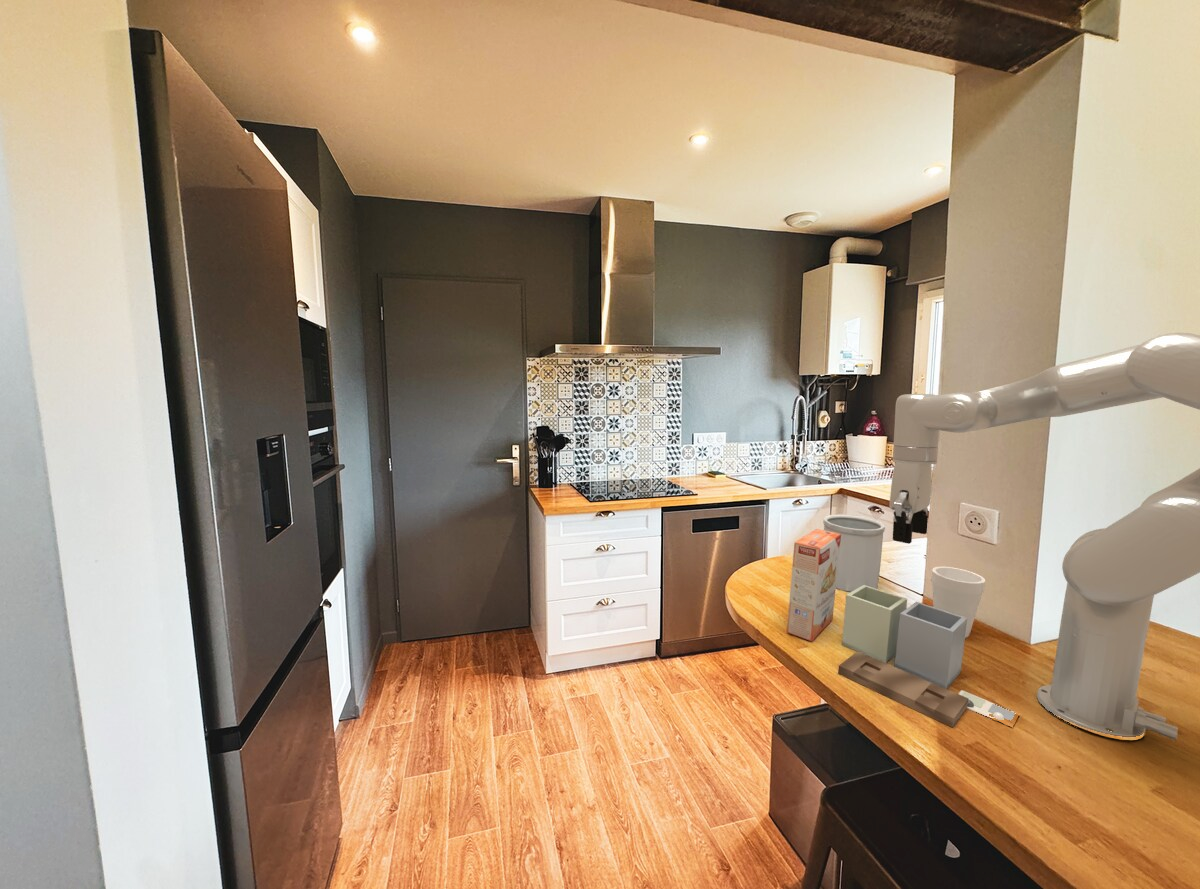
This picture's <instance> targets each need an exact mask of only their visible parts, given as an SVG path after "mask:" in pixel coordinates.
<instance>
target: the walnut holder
mask: <svg viewBox="0 0 1200 889" xmlns="http://www.w3.org/2000/svg"><path fill="white" fill-rule="evenodd" d="M837 674H839V675H840V676H843V677H845V678H847V679H849V680H851V681H853V682H855V683H858V684H860V685H862V686H864V687H866V688H868V689H870V690H872V691H874V692H876V693H878V694H880V695H882V696H884V697H887V698H889V699H892V700H893V701H896V702H898V703H900V704H901V705H904V706H906V707H907V708H910V709H912V710H914V711H917V712H919V713H920V714H922V715H925V716H927V717H929V718H931V719H933V720H935V721H937V722H939V723H941V724H944V725H946V726H948V727H949V728H954V727H955V725H956V724H957V722H958V721H959V720H960V718H961V717H962V716H963V714H964V713H965V712H966V710H968V709H967V706H968V700H969V698H966V697H964V696H962V695H959V693H957V692H955V691H952V690H950V689H948V688H947V689H945V688H943V687H940V686H938V685H936V684H933V683H931V682H929V681H926V680H924V679H922V678H919V677H917V676H915V675H912V674H910V673H908V672H905V671H903V670H901V669H898V668H896V667H895V665H894V666H893V665H891V664H889V663H888V662H887V663H884V662H882V661H879V660H877V659H875V658H872V657H870V656H868V655H865V654H863V653H861V652H858V651H855V652H854V653H853V654H851V656H849V657H848V658H847V659H845V660H844V661H843V662H841V663H840V664H838V670H837Z"/></svg>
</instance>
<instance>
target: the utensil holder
mask: <svg viewBox="0 0 1200 889" xmlns="http://www.w3.org/2000/svg"><path fill="white" fill-rule="evenodd" d="M822 522H823V526H824V527H823V530H824V531H830V532H835V533H838V534H841V541H840V551H839V560H838V570H837V581H836V589H837V590H840V591H844V592H848V593H850V592H852V591H854V590H856V589H857V588H859V587H861V586H863V585H866V586H869V587H872V588H876V589H878V587H879V580H880V570H881V562H882V553H883V552H882V551H883V539H884V532H885V530H886V526H885V524H884V523H883V522H881V521H880V520H877V519H874V518H870V517H866V516H861V515H853V514H829V515H826V516H824V518H823V521H822Z"/></svg>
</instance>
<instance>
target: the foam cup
mask: <svg viewBox="0 0 1200 889" xmlns="http://www.w3.org/2000/svg"><path fill="white" fill-rule="evenodd" d="M930 581H931V583H932V585H931V586H932V604H933V606H932V607H935V608H938V609H941V610H944V611H947V612H951V613H954V614H957V615H960V616H963V617H966V618H967V625H966V633H965V639H966V638H968V637H970V634H971V631H972V628H973V624H974V622H975V618H976V614H977V612H978V608H979V605H980V601H981V598H982V595H983V593H985V586H986V579H985V577H983V576H982V575H981V574H978V573H975V572H972V571H971V570H970V571H969V570H967V569H961V568H957V567H952V566H936V567H933V568H932V570H931V579H930Z"/></svg>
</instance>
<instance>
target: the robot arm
mask: <svg viewBox="0 0 1200 889" xmlns="http://www.w3.org/2000/svg"><path fill="white" fill-rule="evenodd" d="M1160 398H1165V399H1167V400H1170V401H1172V402H1175V403H1179V404H1181V405H1184V406H1188V407H1190V408H1193V409H1196V410H1199V411H1200V335H1199V334H1194V333H1189V332H1173V333H1171V332H1170V333H1166V334H1161V335H1158V336H1155V337H1151V338H1149V339H1147V340H1145V341H1144V342H1142V343H1141V344H1136V345H1133V346H1130V347H1125V348H1122V349H1118V350H1114V351H1111V352H1107V353H1103V354H1102V353H1101V354H1097V355H1094V356H1091V357H1086V358H1081V359H1078V360H1074V361H1070V362H1065V363H1062V364H1058V365H1054V366H1051V367H1049V368H1047V369H1044V370H1043V371H1041V372H1039V373H1037V374H1035V375H1032V376H1030V377H1027V378H1025V379H1021V380H1019V381H1014V382H1011V383H1008V384H1007V383H1006V384H1003V385H999V386H995V387H991V388H987V389H982V390H979V391H971V392H969V391H968V392H967V391H964V392H963V391H962V392H961V391H960V392H952V393H951V392H950V393H944V394H932V393H909V394H908V393H907V394H906V393H905V394H901V395H899V396H898V397H897V399H896V401H895V411H894V414H895V415H894V430H893V431H894V432H893V434H894V435H893V446H892V447H893V452H892V461H893V462H895V463H894V467H893V472H892V478H891V486H890V495H889V506H888V507H889V508H890V509H891V510H892V511H893V518H892V519H893V523H892V524H893V525H892V527H893V528H892V540H893V541H894V542H899V543H902V544H907V545H908V544H911V543H912V541H913V540H912V538H913V533H915V534H921V535H926V534H928V524H929V523H928V522H929V521H928V520H929V515H928V514H929V508H928V507H929V506H930V504H931V499H932V498H931V496H932V481H933V480H932V479H933V478H932V477H933V476H932V471H933V470H932V466H933V465H936V464H937V463H938V452H939V436H940V435H939V434H940V431H944V432H949V433H956V434H962V433H969V432H975V431H980V430H986V429H990V428H996V427H1000V426H1005V425H1011V424H1017V423H1021V422H1026V421H1031V420H1038V419H1044V418H1058V417H1059V418H1060V417H1066V416H1067V417H1068V416H1071V415H1076V414H1083V413H1087V412H1092V411H1098V410H1102V409H1109V408H1113V407H1120V406H1125V405H1129V404H1134V403H1135V404H1136V403H1139V402H1145V401H1151V400H1156V399H1160ZM1061 565H1062V568H1061V569H1062V574H1063V577H1064V579H1065V581H1066V589H1065V593H1064V601H1063V606H1062V610H1061V611H1062V612H1061V617H1060V618H1061V619H1060V624H1059V630H1058V636H1057V638H1058V639H1057V644H1056V652H1055V659H1054V664H1053V671H1052V676H1051V677H1052V678H1051V679H1052V680H1051V684H1046V685H1042V686H1040V687H1039V688H1038V689H1037V693H1036V694H1037V695H1036V698H1037V700H1038V702H1039V703H1040V705H1041V704H1042V705H1043V706H1044V707H1045V708H1044V707H1043V706H1042V705H1041V706H1042V707H1043V708H1044V709H1046V710H1047V711H1048V712H1049V711H1050V712H1052V713H1053V714H1055V715H1057V716H1060V717H1061V718H1063V719H1065V720H1067V721H1069V722H1072V723H1075V724H1076V725H1078V726H1081V727H1084V728H1087V729H1090V730H1094V731H1097V732H1101V733H1105V734H1110V735H1114V736H1122V737H1136V736H1140V735H1142V734H1143V733H1145V734H1146V731H1147V730H1149V731H1151V732H1154V733H1157V734H1158V735H1160V736H1162V737H1166V738H1168V739H1171V740H1174V741H1177V737H1178V730H1179V728H1178V727H1177V726H1175V725H1172V724H1170V723H1166V722H1167V718H1166V717H1165V716H1162V715H1159V714H1156V713H1152V712H1149V711H1146V710H1144V708H1143V707H1141V706H1139V700H1140V698H1139V697H1137V693H1138V687H1139V681H1140V676H1141V670H1142V664H1143V658H1144V652H1145V648H1146V647H1145V646H1146V641H1147V637H1148V631H1149V624H1150V620H1151V615H1152V614H1151V613H1152V609H1153V604H1154V603H1153V602H1154V598H1155V596H1156V595H1157V594H1160V593H1162V592H1164V591H1166V590H1168V589H1170V588H1172V587H1174V586H1176V585H1177V584H1180V583H1182V582H1184V581H1186V580H1187V579H1190V578H1191V577H1194V576H1196V575H1198V574H1200V467H1199V468H1198V469H1196V470H1194V471H1192V472H1191V473H1189V474H1188V475H1186V476H1184V477H1183V478H1181V479H1180V480H1178V481H1176V482H1174V483H1172V484H1171V485H1168V486H1167V487H1164V488H1163V489H1161V490H1158V491H1156V492H1153V493H1152V494H1151V495H1149V496H1147V498H1146V499H1145V500H1144V501H1143V502H1142V503H1141V504H1140V506H1139V507H1137V508H1136V509H1134V510H1133V511H1130V512H1129V513H1128V514H1127V515H1125V516H1123V517H1120V518H1119V519H1118V520H1116V521H1115V522H1113V523H1112V524H1110V525H1108V526H1107V527H1104V528H1098V529H1097V528H1096V529H1093V530H1090V531H1088V532H1085V533H1084V534H1082V535H1081V536H1079V537H1078V538H1077V539H1076V540H1075V541H1074V542H1073V544H1072V545H1071V546H1070V548H1069V550H1067V552H1066V554H1065V555H1064V557H1063V560H1062V564H1061ZM1050 712H1049V713H1050ZM1052 713H1051V714H1052ZM1053 714H1052V715H1053ZM1055 715H1054V716H1055ZM1108 730H1109V731H1108ZM1145 730H1146V731H1145ZM1110 731H1112V732H1110Z"/></svg>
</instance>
